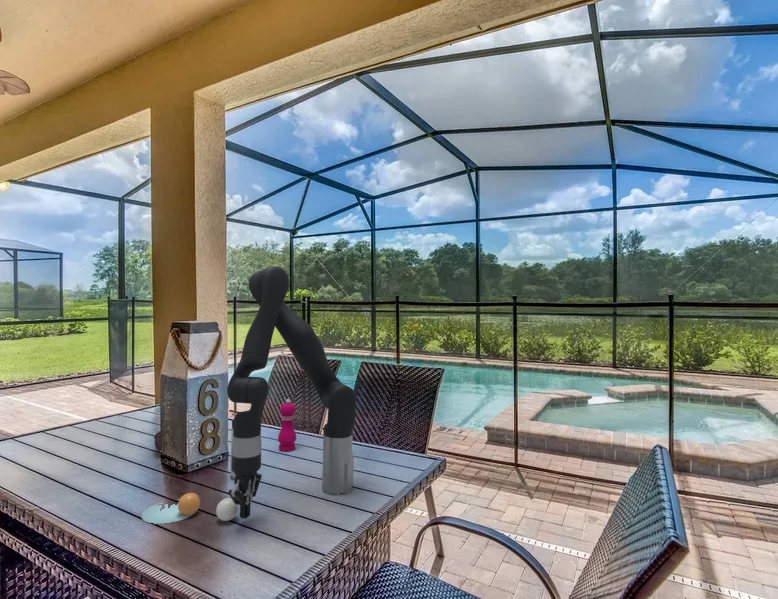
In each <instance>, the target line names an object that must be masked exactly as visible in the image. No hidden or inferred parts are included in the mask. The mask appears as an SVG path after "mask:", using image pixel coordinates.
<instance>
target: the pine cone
mask: <svg viewBox="0 0 778 599" xmlns="http://www.w3.org/2000/svg"><path fill="white" fill-rule="evenodd" d="M161 431H162V430H160V431H158V432H156V433H155V435H154V436H153V439H154V447H155V449H156V451H157V452H158V453H160V451H161ZM160 454H161V453H160Z"/></svg>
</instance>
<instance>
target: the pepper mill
mask: <svg viewBox="0 0 778 599" xmlns="http://www.w3.org/2000/svg"><path fill="white" fill-rule="evenodd" d="M279 410H280V411H279V412H280V414H281V417H280V418H281V421H282V424H281V428H280V431H279V433H278V436H277V442H279V444H278V451H281V452H284V451H288V452H292V450H293V451H294V450H295V448H296V444H295V443H296V441H297V433H296V431H295V429H294V419H295V415H294V414H295V412H296V406H295V404H293V403H292V402H291V399H289V398H287V399H286V400H285V403H283V404H282V405H281V406H280V409H279Z"/></svg>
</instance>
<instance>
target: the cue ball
mask: <svg viewBox="0 0 778 599" xmlns="http://www.w3.org/2000/svg"><path fill="white" fill-rule="evenodd" d="M215 510H216V512H215V513H216V517H217V518H218V519H219V520H220V521H223V522H229V521H231V520H233V519H234V518H235V517H236V516H237V515H238V511H239V505H237V504H235V503H234V502H233V500H232V499H231V497H226V498H224V499H222V500H221V501H219V502H218V504H217V506H216V509H215Z"/></svg>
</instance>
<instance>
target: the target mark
mask: <svg viewBox="0 0 778 599" xmlns="http://www.w3.org/2000/svg"><path fill="white" fill-rule="evenodd" d="M163 502H164V501H162V502H158V503H156V504H154V505H151V506H149V507H147V509H145V510H144V511H143V512H142V513H141V520H142V521H143V522H145V523H147V522H148V524H151V523H153V525H166V524H165V523H167V524H173V523H177V522H180V521H182V520H185V519H187V518H189V517H192V516H193V515H194V514H195V513H193V514H191V515H183V514H181V513H180V512H179V510H178V504H177V505H175V504H173V505H171V506H170V508H168V504H165V505H164V506H165V508H164V509H162V510H161V511H160V509H161V507H162V505H158V504H163ZM157 505H158V506H157ZM172 522H173V523H172Z"/></svg>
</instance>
